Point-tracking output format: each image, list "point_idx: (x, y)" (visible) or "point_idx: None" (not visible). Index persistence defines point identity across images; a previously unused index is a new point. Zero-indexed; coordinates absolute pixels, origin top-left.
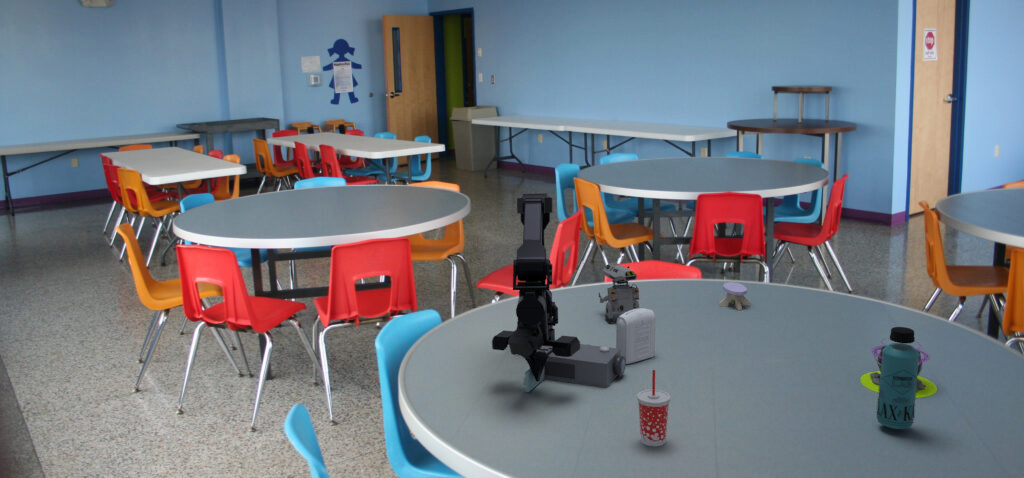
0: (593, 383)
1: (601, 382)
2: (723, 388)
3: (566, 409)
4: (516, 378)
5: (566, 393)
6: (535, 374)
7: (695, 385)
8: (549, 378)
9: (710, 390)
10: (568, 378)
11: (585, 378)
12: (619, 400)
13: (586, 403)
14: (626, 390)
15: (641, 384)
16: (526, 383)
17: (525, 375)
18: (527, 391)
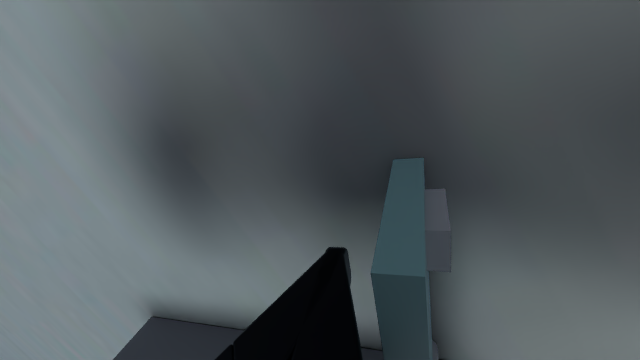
0: (187, 331)
1: (153, 335)
2: (10, 350)
3: (70, 53)
4: (613, 342)
5: (216, 234)
6: (321, 289)
7: (45, 356)
8: None
9: (11, 339)
10: None
11: (205, 352)
12: (49, 238)
13: (82, 169)
14: (101, 309)
15: (112, 349)
16: (410, 193)
17: (418, 247)
18: (405, 160)
